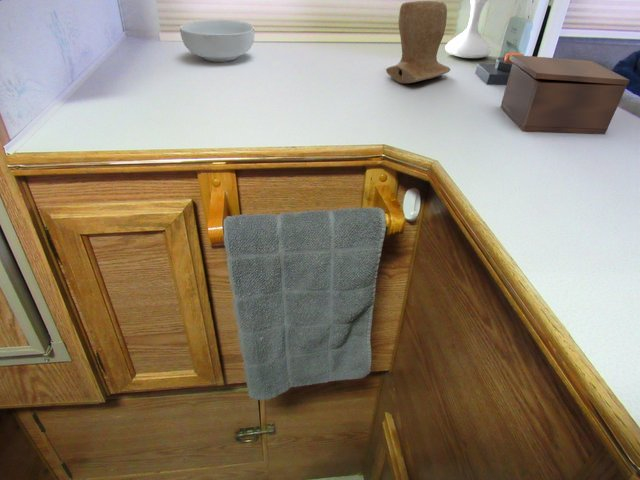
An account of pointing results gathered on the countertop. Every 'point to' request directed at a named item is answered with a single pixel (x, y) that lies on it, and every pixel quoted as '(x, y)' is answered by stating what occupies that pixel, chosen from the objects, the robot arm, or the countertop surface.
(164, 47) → the countertop surface
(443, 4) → the brown flared post
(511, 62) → the button
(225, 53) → the cereal bowl
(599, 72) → the lid
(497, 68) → the button block
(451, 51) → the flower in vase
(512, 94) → the chest
